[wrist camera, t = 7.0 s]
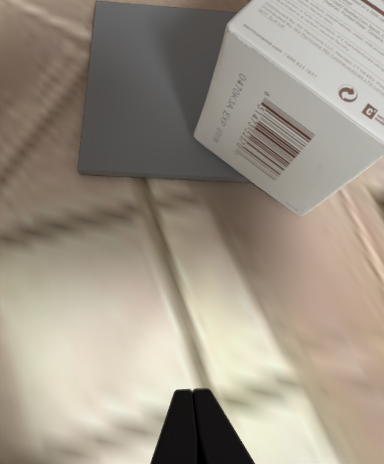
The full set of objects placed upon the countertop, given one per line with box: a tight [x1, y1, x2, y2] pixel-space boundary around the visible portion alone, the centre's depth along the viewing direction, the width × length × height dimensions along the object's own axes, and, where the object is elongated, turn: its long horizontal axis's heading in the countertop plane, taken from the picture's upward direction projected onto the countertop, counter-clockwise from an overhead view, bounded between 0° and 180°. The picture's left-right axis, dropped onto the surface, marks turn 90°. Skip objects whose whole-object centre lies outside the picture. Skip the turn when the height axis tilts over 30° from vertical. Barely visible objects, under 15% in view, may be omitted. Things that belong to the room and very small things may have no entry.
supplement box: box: [194, 0, 384, 217], centre depth 18 cm, size 7×7×13 cm
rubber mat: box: [78, 1, 253, 183], centre depth 21 cm, size 11×10×1 cm
